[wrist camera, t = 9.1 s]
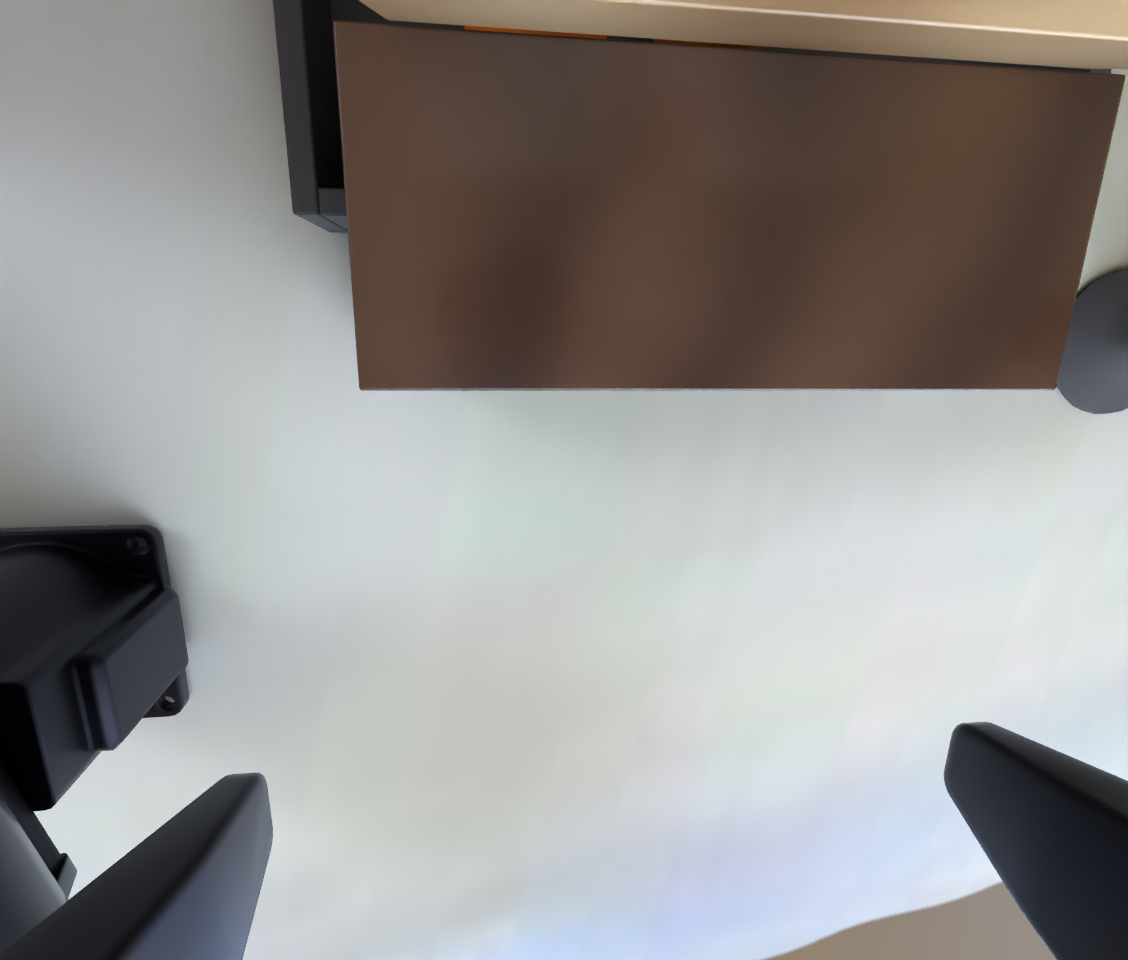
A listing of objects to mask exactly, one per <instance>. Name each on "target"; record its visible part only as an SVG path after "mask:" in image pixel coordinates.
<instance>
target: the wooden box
mask: <svg viewBox="0 0 1128 960" xmlns="http://www.w3.org/2000/svg"><path fill="white" fill-rule="evenodd" d="M358 1H360V2H361V3H363V4H364V5H366V6H367V7H369V8H370V9H372V10H373V11H375V12H376V13H378V14H379V15H381V16H382V17H384V18H385V19H387V20H392V21H407V22H421V23H435V24H450V25H464V26H478V27H493V28H507V29H521V30H536V31H550V32H565V33H579V34H593V35H608V36H622V37H636V38H651V39H665V40H679V41H694V42H708V43H723V44H737V45H751V46H766V47H780V48H794V49H809V50H823V51H837V52H852V53H866V54H881V55H895V56H909V57H924V58H938V59H952V60H967V61H981V62H995V63H1010V64H1024V65H1039V66H1053V67H1067V68H1082V69H1121V68H1128V0H358Z"/></svg>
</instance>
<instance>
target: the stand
mask: <svg viewBox="0 0 1128 960" xmlns="http://www.w3.org/2000/svg"><path fill="white" fill-rule="evenodd" d="M333 33H334V47H335V61H336V74H337V88H338V102H339V116H340V129H341V143H342V157H343V171H344V184H345V198H346V212H347V226H348V239H349V253H350V267H351V281H352V294H353V308H354V322H355V336H356V349H357V363H358V377H359V388H360V390H1054V389H1055V388H1056V384H1057V379H1058V375H1059V370H1060V366H1061V362H1062V357H1063V353H1064V348H1065V344H1066V339H1067V335H1068V330H1069V326H1070V321H1071V317H1072V312H1073V308H1074V304H1075V299H1076V295H1077V290H1078V286H1079V281H1080V277H1081V272H1082V268H1083V263H1084V259H1085V255H1086V250H1087V246H1088V241H1089V237H1090V232H1091V228H1092V223H1093V219H1094V214H1095V210H1096V205H1097V201H1098V197H1099V192H1100V188H1101V183H1102V179H1103V174H1104V170H1105V165H1106V161H1107V156H1108V152H1109V148H1110V143H1111V139H1112V134H1113V130H1114V125H1115V121H1116V116H1117V112H1118V107H1119V103H1120V99H1121V94H1122V90H1123V85H1124V81H1125V75H1120V74H1105V73H1091V72H1076V71H1062V70H1047V69H1033V68H1018V67H1004V66H989V65H975V64H960V63H946V62H931V61H917V60H902V59H888V58H873V57H859V56H844V55H830V54H815V53H801V52H786V51H772V50H757V49H743V48H728V47H713V46H699V45H684V44H670V43H655V42H641V41H626V40H612V39H597V38H583V37H568V36H554V35H539V34H525V33H510V32H496V31H481V30H467V29H452V28H438V27H423V26H409V25H394V24H380V23H365V22H351V21H334V22H333Z"/></svg>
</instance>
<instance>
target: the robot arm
mask: <svg viewBox="0 0 1128 960" xmlns="http://www.w3.org/2000/svg"><path fill="white" fill-rule="evenodd" d="M137 537H142V538H143V539H145V540H146V542H147V544H148V546H147V548H145V547H142V546H140V545H139V544H138V542H137ZM187 664H188V654H187V648H186V642H185V636H184V630H183V624H182V618H181V612H180V606H179V600H178V595H177V594H176V593H175V592H174V591H173V590H172V589H171V585H170V579H169V573H168V567H167V561H166V555H165V549H164V543H163V539H162V536H161V534H160V533H159V532H158V530H157V529H155V528H153V527H151V526H149V525H108V526H67V527H27V528H0V960H242V958H243V955H244V951H245V947H246V943H247V939H248V935H249V932H250V928H251V924H252V920H253V916H254V912H255V909H256V905H257V901H258V897H259V893H260V890H261V886H262V882H263V878H264V874H265V870H266V867H267V863H268V859H269V855H270V851H271V846H272V838H273V827H272V819H271V812H270V804H269V797H268V789H267V783H266V780H265V778H264V776H263V775H262V774H260V773H246V774H232V775H227V776H225V777H224V778H222V779H221V780H219V781H218V782H217V783H215V784H214V785H213V786H212V787H210V788H209V789H208V790H207V791H205V792H204V793H203V794H202V795H200V796H199V797H198V798H197V799H195V800H194V801H193V802H192V803H190V804H189V805H188V806H186V807H185V808H184V809H183V810H181V811H180V812H179V813H178V814H176V815H175V816H174V817H173V818H171V819H170V820H169V821H168V822H166V823H165V824H164V825H163V826H161V827H160V828H159V829H158V830H156V831H155V832H154V833H153V834H151V835H150V836H149V837H147V838H146V839H145V840H144V841H142V842H141V843H140V844H139V845H137V846H136V847H135V848H134V849H132V850H131V851H130V852H129V853H127V854H126V855H125V856H124V857H122V858H121V859H120V860H119V861H117V862H116V863H115V864H113V865H112V866H111V867H110V868H108V869H107V870H106V871H105V872H103V873H102V874H101V875H100V876H98V877H97V878H96V879H95V880H93V881H92V882H91V883H90V884H88V885H87V886H86V887H85V888H83V889H82V890H81V891H80V892H78V893H77V894H76V895H74V896H73V897H72V898H71V899H69V900H68V901H67V899H68V897H69V894H70V891H71V888H72V885H73V882H74V879H75V876H76V873H77V869H76V868H75V866H74V864H73V863H72V861H71V860H70V858H69V856H68V855H67V854H66V853H62V854H60V853H59V852H58V850H57V848H56V847H55V845H54V844H53V842H52V841H51V839H50V837H49V836H48V834H47V833H46V831H45V829H44V828H43V826H42V825H41V823H40V822H39V820H38V818H37V817H36V815H35V814H34V812H33V811H42V810H47V809H51V808H52V807H53V806H54V805H55V804H56V803H57V802H58V800H59V799H60V798H61V797H62V796H63V795H64V794H65V792H66V791H67V790H68V789H69V788H70V787H71V785H72V784H73V783H74V782H75V781H76V780H77V779H78V777H79V776H80V775H81V774H82V773H83V772H84V771H85V769H86V768H87V767H88V766H89V765H90V764H91V762H92V761H93V760H94V759H95V758H96V757H97V756H98V754H99V753H100V752H101V751H110V750H114V749H115V748H117V746H118V745H119V744H120V743H121V742H122V741H123V740H124V739H125V738H126V737H127V736H128V734H129V733H130V732H131V731H132V730H133V728H134V727H135V726H136V725H137V724H138V722H139V721H140V720H141V719H142V718H148V717H165V716H172V715H176V714H177V713H179V712H180V711H181V710H182V708H183V707H184V706H185V705H186V703H187V701H188V699H189V693H188V687H187V681H186V675H185V669H184V668H185V667H186V665H187ZM165 696H169V697H171V698H173V699H174V701H175V702H169V701H168V700H166V698H165ZM944 781H945V786H946V788H947V791H948V793H949V795H950V797H951V798H952V800H953V801H954V803H955V805H956V806H957V808H958V810H959V811H960V813H961V814H962V816H963V818H964V819H965V821H966V822H967V824H968V826H969V827H970V829H971V831H972V832H973V834H974V835H975V837H976V839H977V840H978V842H979V844H980V845H981V847H982V848H983V850H984V852H985V853H986V855H987V856H988V858H989V860H990V861H991V863H992V865H993V866H994V868H995V869H996V871H997V873H998V874H999V876H1000V877H1001V879H1002V881H1003V882H1004V884H1005V886H1006V887H1007V889H1008V890H1009V892H1010V893H1011V895H1012V897H1013V898H1014V899H1015V901H1016V903H1017V904H1018V906H1019V907H1020V909H1021V910H1022V912H1023V913H1024V915H1025V916H1026V918H1027V919H1028V920H1029V922H1030V923H1031V925H1032V926H1033V928H1034V929H1035V930H1036V932H1037V933H1038V935H1039V936H1040V937H1041V939H1042V940H1043V941H1044V943H1045V944H1046V946H1047V947H1048V948H1049V950H1050V951H1051V952H1052V954H1053V955H1054V957H1055V958H1056V959H1057V960H1128V781H1126V780H1124V779H1122V778H1119V777H1117V776H1115V775H1112V774H1110V773H1107V772H1105V771H1103V770H1100V769H1098V768H1096V767H1093V766H1091V765H1089V764H1086V763H1084V762H1082V761H1079V760H1077V759H1075V758H1072V757H1070V756H1068V755H1065V754H1063V753H1061V752H1058V751H1056V750H1053V749H1051V748H1049V747H1046V746H1044V745H1042V744H1039V743H1037V742H1035V741H1032V740H1030V739H1028V738H1025V737H1023V736H1021V735H1018V734H1016V733H1014V732H1011V731H1009V730H1006V729H1004V728H1002V727H999V726H997V725H995V724H992V723H988V722H974V723H962V724H959V725H957V726H956V728H955V729H954V730H953V733H952V737H951V741H950V746H949V751H948V755H947V760H946V765H945V769H944Z"/></svg>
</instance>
